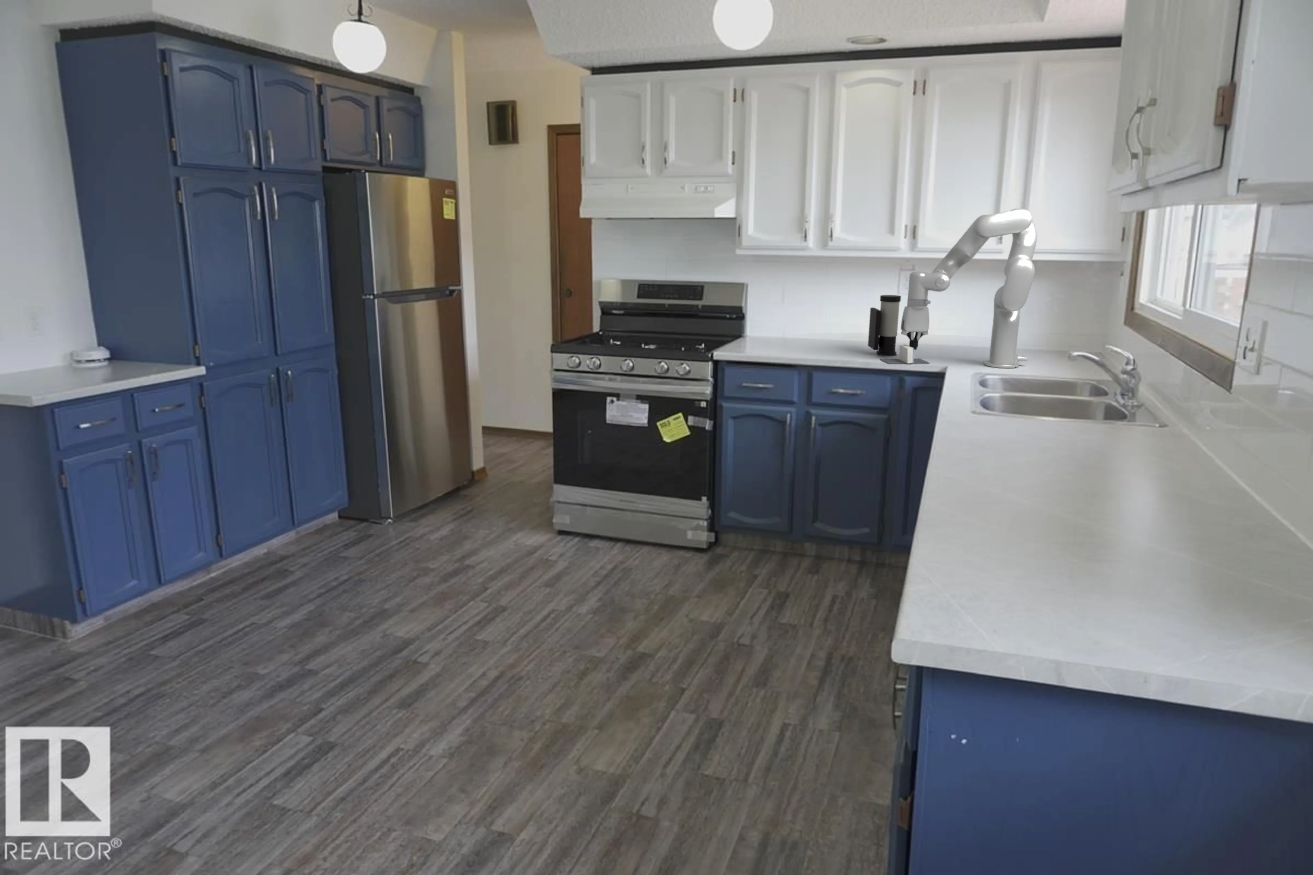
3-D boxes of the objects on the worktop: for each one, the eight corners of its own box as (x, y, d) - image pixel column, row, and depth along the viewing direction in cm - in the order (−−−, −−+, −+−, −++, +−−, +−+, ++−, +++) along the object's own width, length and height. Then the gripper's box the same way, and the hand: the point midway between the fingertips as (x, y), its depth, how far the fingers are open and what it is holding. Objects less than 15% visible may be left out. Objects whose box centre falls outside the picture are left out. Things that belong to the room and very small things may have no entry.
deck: (905, 359, 355) (905, 344, 354) (913, 362, 346) (913, 348, 345) (899, 359, 355) (899, 345, 353) (907, 363, 346) (907, 348, 345)
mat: (919, 359, 358) (920, 358, 358) (929, 363, 349) (929, 362, 349) (879, 359, 357) (879, 359, 357) (888, 364, 347) (888, 363, 347)
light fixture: (899, 356, 365) (904, 297, 359) (873, 356, 365) (877, 297, 359) (892, 352, 377) (897, 294, 370) (867, 352, 377) (871, 294, 371)
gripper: (931, 302, 350) (927, 348, 354) (895, 302, 348) (891, 348, 353) (939, 304, 342) (934, 350, 347) (902, 304, 341) (898, 351, 345)
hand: (913, 349), depth 350 cm, fingers closed
